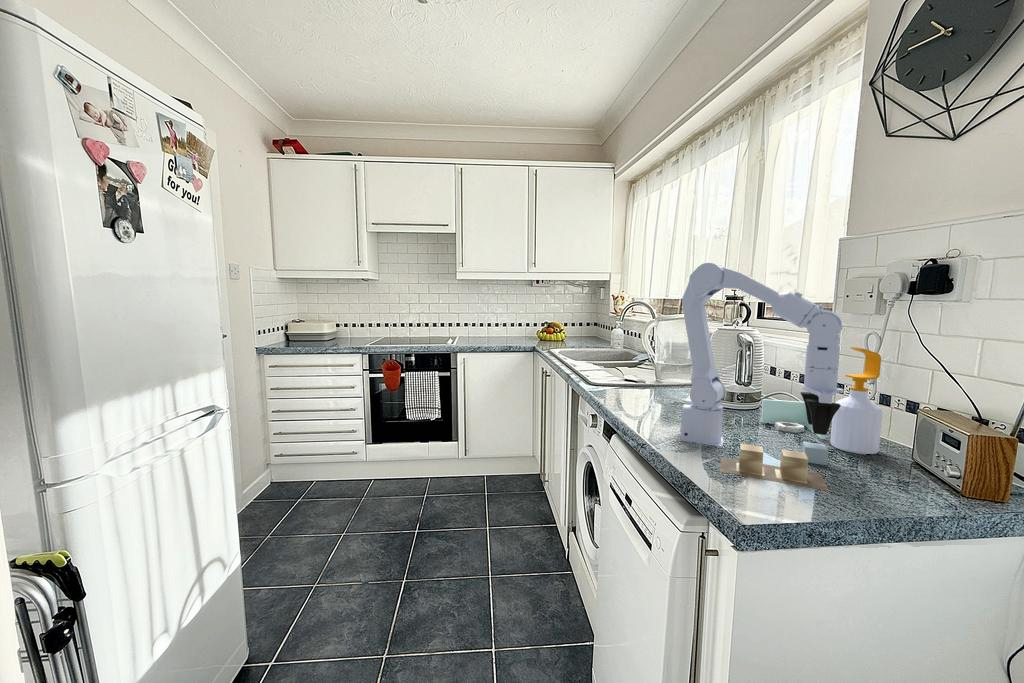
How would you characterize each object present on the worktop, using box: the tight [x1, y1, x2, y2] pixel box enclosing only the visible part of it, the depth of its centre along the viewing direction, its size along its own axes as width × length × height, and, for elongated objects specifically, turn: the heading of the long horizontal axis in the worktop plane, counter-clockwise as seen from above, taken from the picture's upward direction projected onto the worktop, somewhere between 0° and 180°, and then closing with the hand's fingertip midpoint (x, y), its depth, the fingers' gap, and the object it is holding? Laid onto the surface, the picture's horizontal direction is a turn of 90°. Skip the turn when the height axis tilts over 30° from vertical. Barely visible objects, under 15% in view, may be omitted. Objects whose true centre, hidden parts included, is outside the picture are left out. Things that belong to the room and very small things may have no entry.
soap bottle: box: [830, 346, 883, 456], centre depth 101 cm, size 9×9×25 cm
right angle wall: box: [760, 398, 827, 440], centre depth 116 cm, size 12×12×8 cm
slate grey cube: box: [801, 441, 829, 466], centre depth 92 cm, size 4×4×4 cm
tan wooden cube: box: [779, 449, 809, 482], centre depth 84 cm, size 4×4×4 cm
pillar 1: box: [738, 443, 764, 474], centre depth 87 cm, size 4×4×4 cm
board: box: [719, 457, 829, 492], centre depth 86 cm, size 18×9×1 cm, turn 62°
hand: (816, 429), depth 92 cm, fingers open, 7 cm apart
